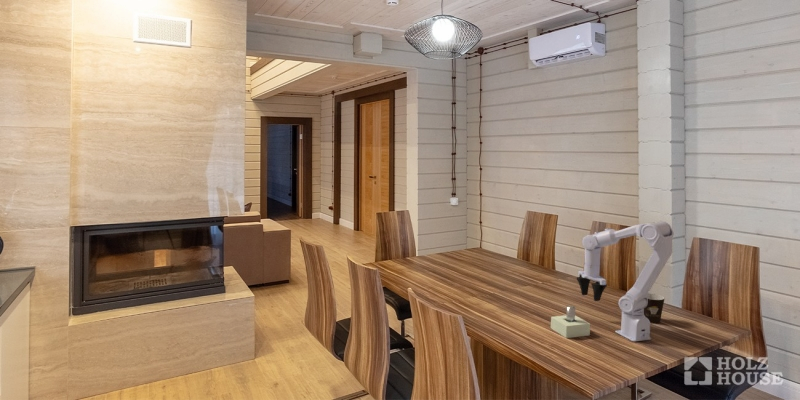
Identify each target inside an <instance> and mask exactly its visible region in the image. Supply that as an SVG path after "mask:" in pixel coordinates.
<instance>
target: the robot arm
mask: <svg viewBox="0 0 800 400" xmlns="http://www.w3.org/2000/svg"><path fill="white" fill-rule="evenodd" d="M674 234H675V233H674V231H673V229H672V227H671V225H670V224H669V223H668V222H666V221H663V220H662V221H661V220H660V221H656V222H648V223H639V224H635V225H632V226H628V227H626V228H622V229H619V230H617V229H614V228H605V229H604V230H603V231H595V232H594V234H587V235H585V236H584V237H582V240H581V244H582V247H583V248H584V264H583V270H577V277H576V280H577V282H578V285H579V287H580V292H581V295H582V296H587V295H588V293H589V287H590V285H591V287H592V292H593V301H594V302H599V301H600V300H601V298H602V295H603V293H604V291H605V289H606V287H607V285H608V284H607V279H605V278H603V277H602V276H601V275H600V269H601V267H600V266H601V252H602V248H604V247H608V246H613V245H615V244H618V243H619V242H620V240H621V239H626V238H629V237H630V238H631V237H634V236H638V238H643V239H644V241H645V242H646V243H647V244H648V246H649V247H650V248H651V250H652V253H651V255H650V257H649V258H648V260H647V262H646V263H645V265H644V267H643V268H642V270H641V272H640V274H639V276H638V277H637V279H636V281H635V283H634V284H633V286H632V287H631V288H629V290H628V291H627V292H626V293H625V294H624V295H622V296H621V297H620V298H619V300H618V307H619V309H620V310H621V323H620V325H621V326H620V329H619V330H615V333H616V334H618V335H620V336H622V337H623V338H626V339H628V340H630V341H631V342H640V341H641V342H642V341H650V340H652V337H651V336H650V334H651V333H650V332H651V323H650V321H649V319H648V318H646V317H645V316H644V308H645V307H646V306H647V304H648V297H649V296H650V295H649V293H650V291H651V289H652V288H653V286H654V284H655V282H656V280H657V279H658V277H659V275H661V272H662V271H663V269H664V268H665V266H666V264H667V263H668V261H669V259H670V257H671V256H672V253H673V237H674ZM578 276H579V277H578ZM591 281H592V283H591Z"/></svg>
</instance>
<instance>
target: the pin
mask: <svg viewBox="0 0 800 400" xmlns="http://www.w3.org/2000/svg"><path fill="white" fill-rule="evenodd" d="M565 315H566V321H567V322H575V316H576V306H573V305H566V314H565Z"/></svg>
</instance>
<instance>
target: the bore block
mask: <svg viewBox="0 0 800 400" xmlns="http://www.w3.org/2000/svg"><path fill="white" fill-rule="evenodd" d="M550 329H552V330H553V331H554V332H556V333H558V334H559V335H560V336H562V337H564V338H565V339H569V338H578V337H586V336H588V337H589V336H590V335H591V334H590V333H591V323H590V322H588V321H586V320H585V319H583V318H581V317H579V316H577V315H575V322H567V321H566V314H563V315H557V316H550Z"/></svg>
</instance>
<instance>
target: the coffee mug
mask: <svg viewBox="0 0 800 400" xmlns="http://www.w3.org/2000/svg"><path fill="white" fill-rule="evenodd" d="M648 293H649V295H650V296H649V297H648V304H647V306H646V307H645V308H644V316H645V317H646V318H648V319H649V321H650V324H660V323H661V320H662V319H661V318H662V315H663V314H662V313H663V308H664V304H665V303H664V302H665V299H666V298H665V297H664V295H661V294H656V293H651V292H648Z"/></svg>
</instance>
